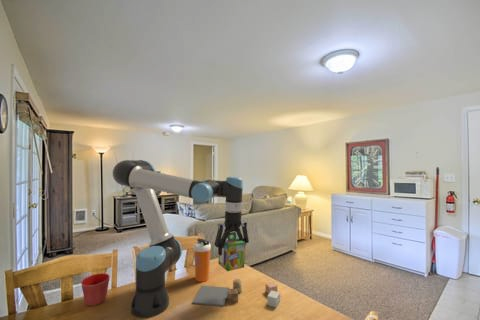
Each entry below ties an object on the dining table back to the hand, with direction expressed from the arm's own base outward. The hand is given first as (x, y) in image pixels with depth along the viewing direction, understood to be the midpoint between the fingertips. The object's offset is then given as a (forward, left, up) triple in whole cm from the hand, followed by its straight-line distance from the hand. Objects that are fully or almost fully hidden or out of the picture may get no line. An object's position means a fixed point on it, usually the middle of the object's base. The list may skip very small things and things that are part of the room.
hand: (231, 260), depth 108 cm
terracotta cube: (+18, +5, -17) cm, 25 cm away
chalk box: (0, 0, -3) cm, 3 cm away
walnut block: (+1, -3, -17) cm, 17 cm away
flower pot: (-58, -11, -17) cm, 62 cm away
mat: (-9, -1, -17) cm, 19 cm away
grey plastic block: (+19, -3, -17) cm, 26 cm away
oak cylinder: (+2, +4, -17) cm, 17 cm away
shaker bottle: (-18, +14, -17) cm, 28 cm away
